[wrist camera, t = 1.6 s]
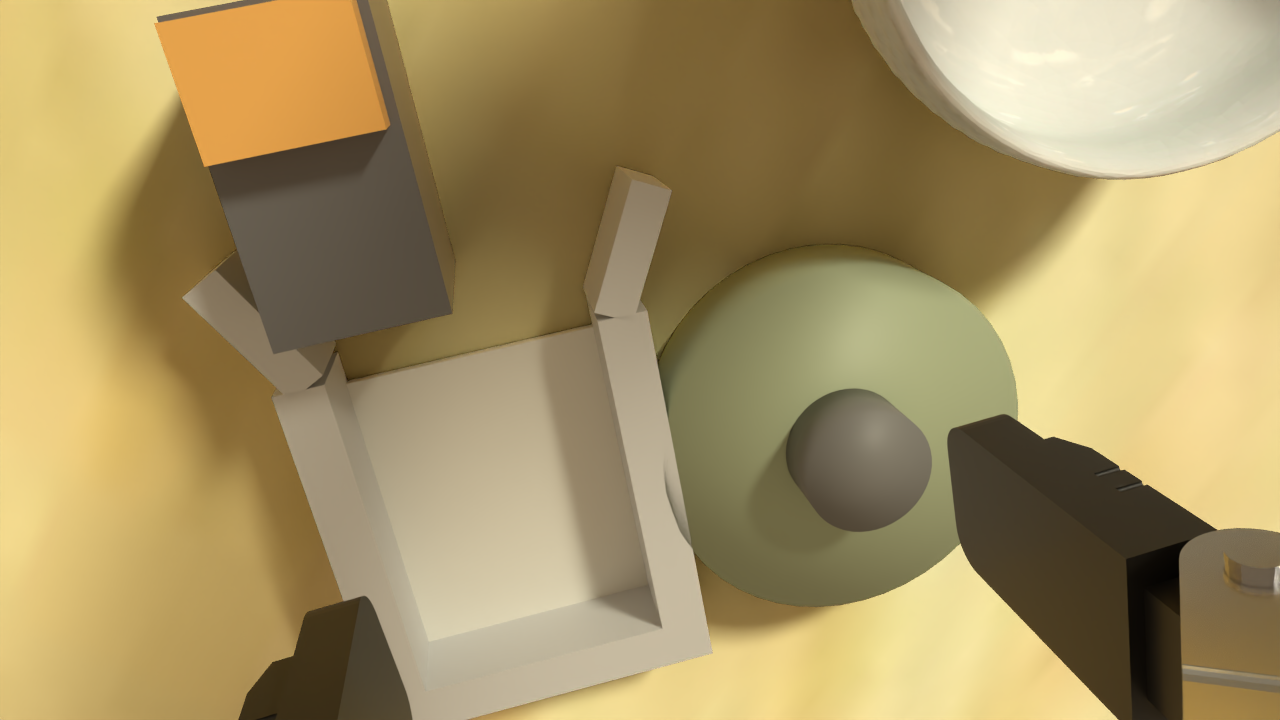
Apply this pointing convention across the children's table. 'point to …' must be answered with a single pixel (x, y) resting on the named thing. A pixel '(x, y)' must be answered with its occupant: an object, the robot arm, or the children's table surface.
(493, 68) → the children's table surface
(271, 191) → the orange-panel grey block
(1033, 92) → the cereal bowl
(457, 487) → the grey bracket and lid
